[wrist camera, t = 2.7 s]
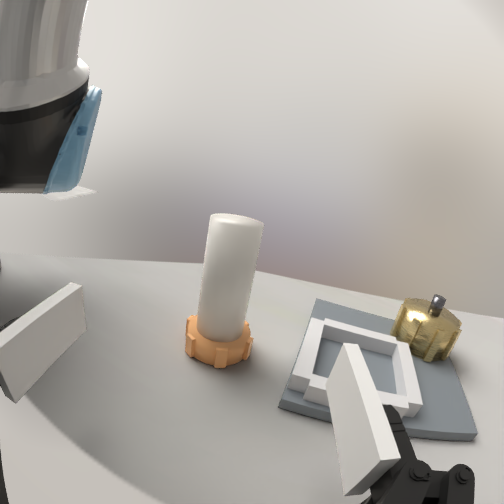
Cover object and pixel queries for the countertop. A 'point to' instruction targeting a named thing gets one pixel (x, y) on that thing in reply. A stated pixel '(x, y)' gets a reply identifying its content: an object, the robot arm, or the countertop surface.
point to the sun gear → (427, 328)
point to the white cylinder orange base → (225, 292)
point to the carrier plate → (378, 374)
